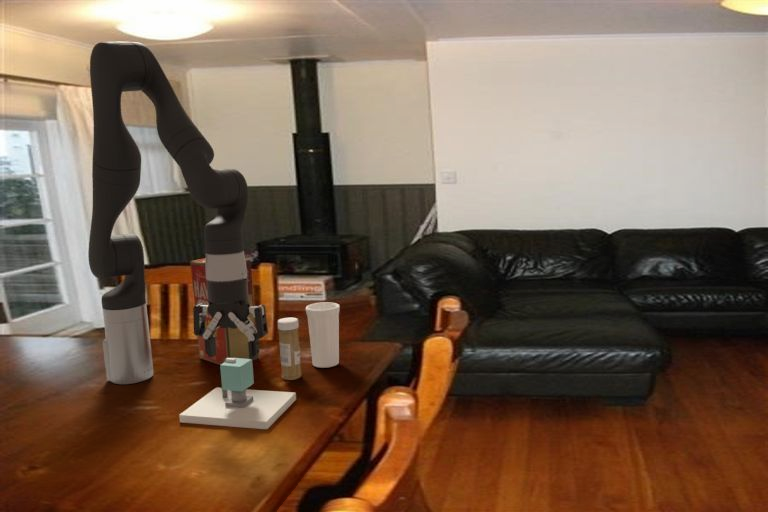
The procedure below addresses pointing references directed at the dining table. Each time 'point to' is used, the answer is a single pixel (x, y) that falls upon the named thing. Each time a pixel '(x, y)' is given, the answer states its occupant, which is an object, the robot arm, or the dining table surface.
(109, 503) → the dining table surface
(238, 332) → the food packaging
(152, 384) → the dining table surface
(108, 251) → the robot arm
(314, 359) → the cup
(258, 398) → the stud board
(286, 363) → the sprinkles bottle
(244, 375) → the mint cube with tab
